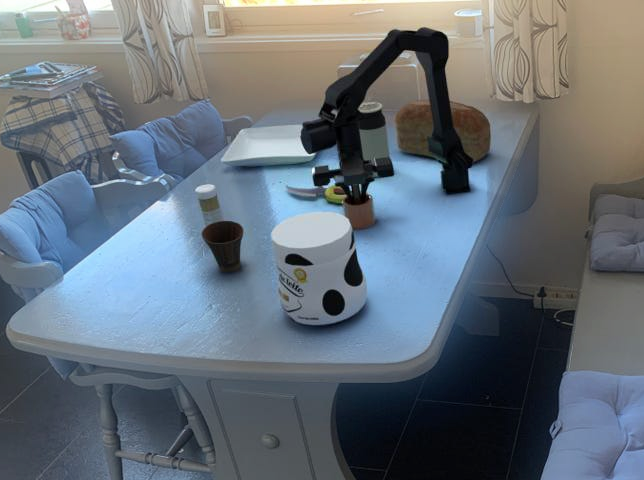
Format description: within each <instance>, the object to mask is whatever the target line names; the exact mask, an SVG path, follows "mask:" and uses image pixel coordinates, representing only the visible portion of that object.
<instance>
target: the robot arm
mask: <svg viewBox="0 0 644 480" xmlns="http://www.w3.org/2000/svg"><path fill="white" fill-rule="evenodd" d="M405 51H406V52H407V51H408V52H409V51H410V52H414V53H415V56H416V60H417V61H418V62H419V64H420V66H421V67H422V69H423V72H424V76H425V81H426V82H425V83H426V88H427V94H428V100H429V101H430V107H431V114H432V120H433V126H434V130H433V133H432V136H428V137H427V141H428V144H429V152H431V153H432V156H433V157H432V158H435V159H436V161H437V163H438V164H440V165H441V170H440V184H441V188H442V190H443V191H444V193H445V194H446V195H451V194H457V193H459V194H460V193H466V192H471V191H472V188H471V186H470V177H469V176H470V175H469V173H470V172H469V169H472V167H473V164H474V162H473V158H471V157H470V156H469V155H467V154H466V153H465V152H464V148H463V145H462V142H461V139H460V137H459V135H458V133H457V132H456V130H455V128H454V126H453V120H452V113H451V106H450V101H451V100H450V94H449V93H450V92H449V87H448V81H447V80H448V79H447V73H446V66H447V63H448V60H449V58H450V41H449V38H448V36H447V34H445V33H444V32H443V31H440V30H437V29H433V28H429V27H426V26H423V27H420V28H418V29H417V30H410V29H397V28H393V29H391V30H390V31H388V33H387V34H386V36H385V38H384V39H382V40H381V42H380V43H379V44H378V45H377V46H376V47H375V48H374V49H373V50H372V51H371V52H370V53H369V54H368V55H367V57H365V58H364V60H362V61H361V63H359V64H358V66H357V67H356V68H354V70H353V71H352V72H350V73H348V74H346V75H344V76H341V77H340V78H338V79H336V80H335V81H334V82H333V83H331V84H329V86H328V87H327V88H326V90H325V91H324V100H323V102H322V105H321V107H320V110H319V112H318V114H317V117H318V118H317V119H314V120H308V121H303V122H302V123H301V125H302V126H303V128H302V130H301V135H300V138H301V142H302V145H303V147H304V149H305V151H306V152H307V153H308V154H313V153H316V154H317V153H319V152H323V151H327V150H330V149H333V148H334V147H335V146H336V154H337V159H338V167H339V168H334V169H330V167H329V164H326V165H318V166H313V167H312V169H311V177H312V182H313V186H314V187H315V188H317V187H319V186H323V187H326V186H329V184H330V183H331V179H333V181H334V185H335V186H336V187H341V188H342V189H343V191H344V192H345V194H346V195H347V197H348V199H349V201H350V203H351V205H354V202H353V197H352V194H351V191H352V190H351V185H355V184H359V185H360V191H361V200H362V204H363V203H364V202H365V197H366V192H367V191H368V189H369V186H370V184H371V183H375V177H374V176H373V175H374V173H375V172H377V175H378V176H379V177H378V178H380V179H384V178H391V177H394V176H395V169H394V164H393V161H392V158H391V157H390V158H389V157H385V158H377V159H374V160H375V164H372V163H371V160H364V159H363V152H362V145H361V138H360V131H359V123H358V121H361V120H364V119H366V118H367V116H366V115H364V114H362V113H361V112H360V111H359V109H358V108H359V107H360V105H361V104H362V103H364V101H365V99H366V96H367V92H368V90H369V89H370V87H371V86H372V85H373V84H374V83H375V82H376V81H377V80H378V79H379V78H380V77H381V75H383V74H384V73H385V72H386V70H387V69H388V68H389V67H390V66H391V65H392V64H393V63H394V62H395V61H396V60H397V59H398V58H399V57H400V56H401V55H402V54H403V53H404V52H405ZM333 111H335V112H336V114H335V113H333ZM367 193H368V192H367Z"/></svg>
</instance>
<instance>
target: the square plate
mask: <svg viewBox="0 0 644 480" xmlns="http://www.w3.org/2000/svg"><path fill="white" fill-rule="evenodd" d="M302 128H303V126H302V124H292V125H291V124H290V125H289V124H288V125H287V124H286V125H272V126H271V125H270V126H262V127H251V128H242V129H241V130H240V131H239V132H238V134H237V135H236V137H235V138H234V140H233V141H232V142H231V144H230V145H229V147H228V149H227V150H226V152H225V153H224V155H223V156H222V157H221V159H220V163H222V164H225V165H226V166H230V167H231V166H232V167H242V166H243V167H249V168H250V167H263V166H265V167H266V166H279V165H280V166H281V165H296V164H301V163H305V162H306V163H307V162H311V161H313V159H314V158H315V156H316V155H317V153H313V154H308V153H307V152H306V151H305V149H304V147H303V145H302V142H301V138H300V135H301V130H302Z"/></svg>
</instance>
